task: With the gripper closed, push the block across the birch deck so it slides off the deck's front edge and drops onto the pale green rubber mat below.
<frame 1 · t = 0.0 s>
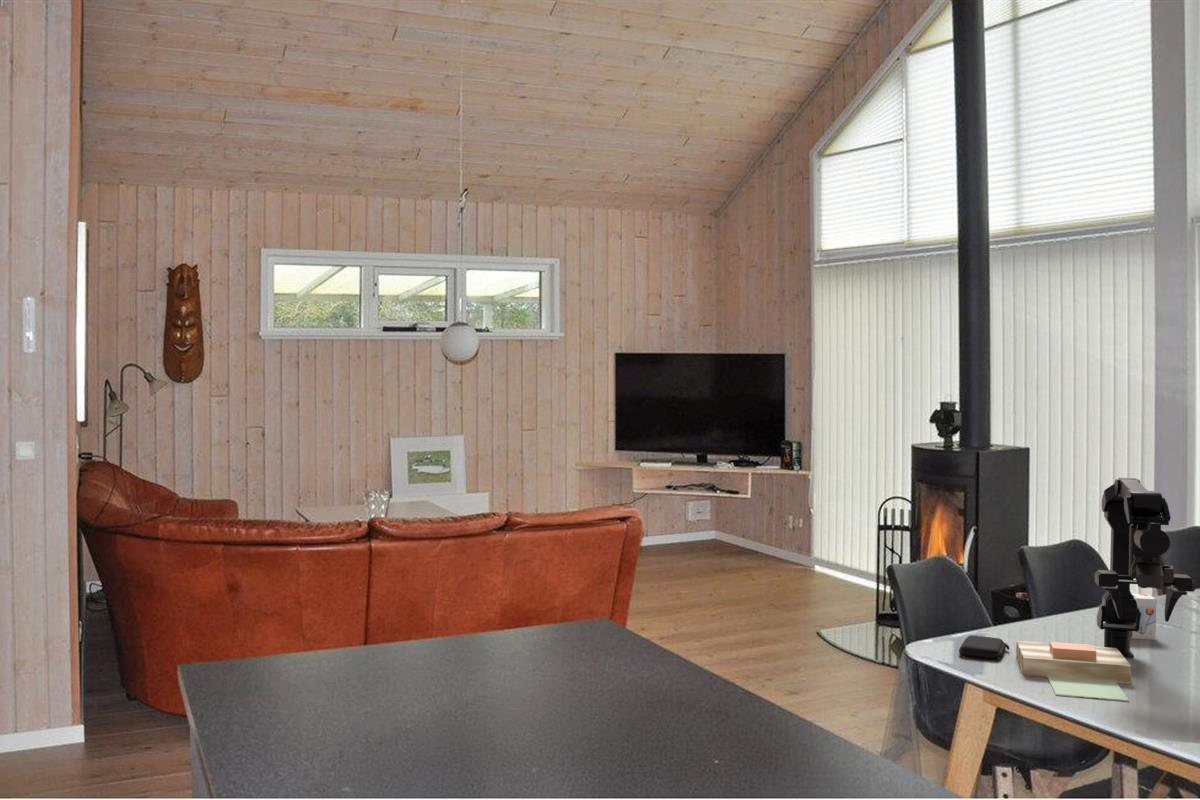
hand: (1143, 619, 223), 15 cm above the table, fingers open, 9 cm apart
light bulb box: (1130, 636, 269), on the table
carrying case or bag: (984, 655, 251), on the table
mat: (1086, 688, 222), on the table
deck: (1070, 670, 236), on the table
block: (1072, 655, 234), point 4 cm above the table, touching deck
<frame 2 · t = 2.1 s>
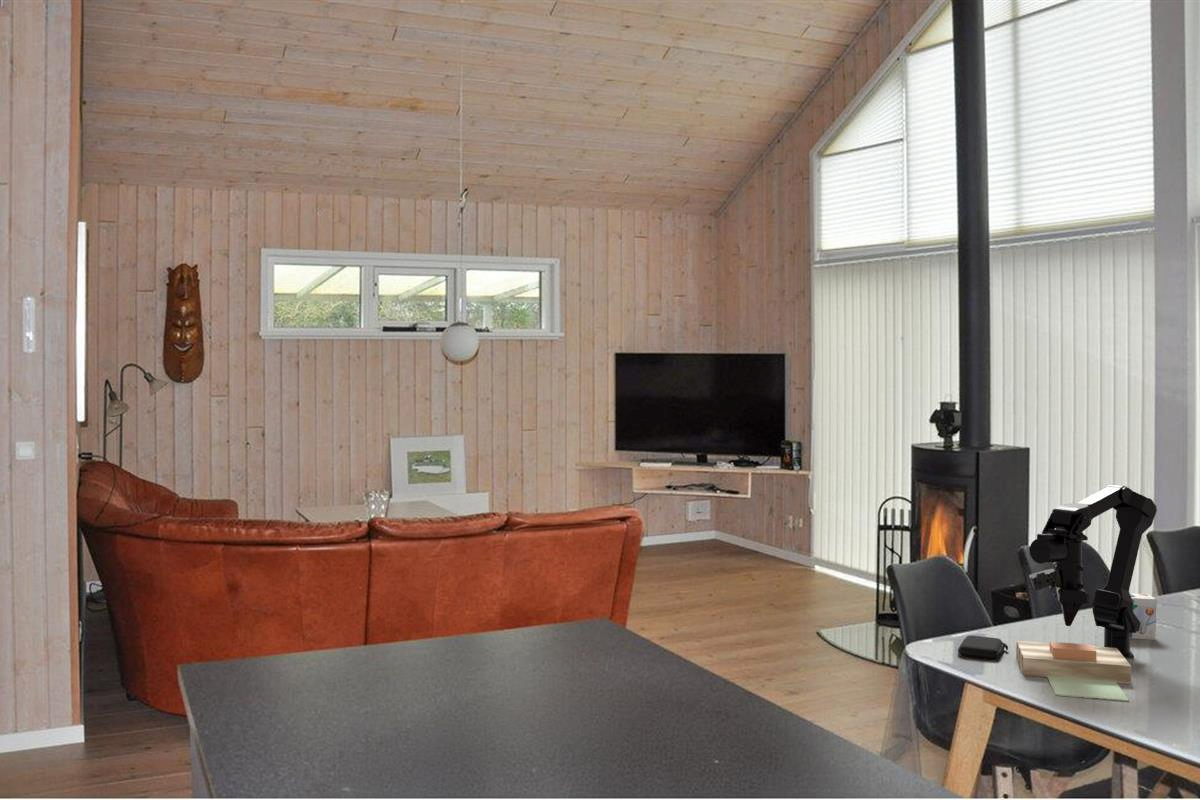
hand: (1067, 625, 242), 9 cm above the table, fingers closed
nothing on the table moved.
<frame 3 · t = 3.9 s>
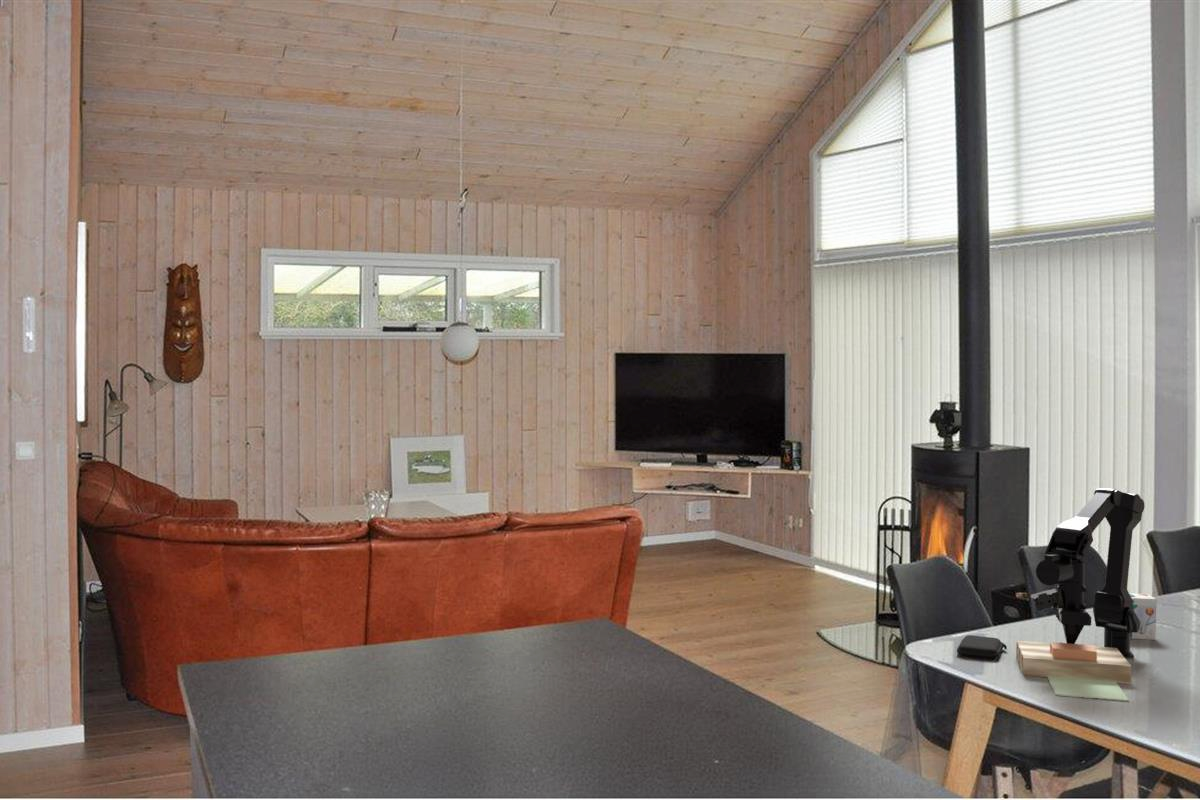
hand: (1069, 647, 238), 5 cm above the table, fingers closed
block: (1072, 655, 234), point 4 cm above the table, touching deck, gripper
everything else where it was.
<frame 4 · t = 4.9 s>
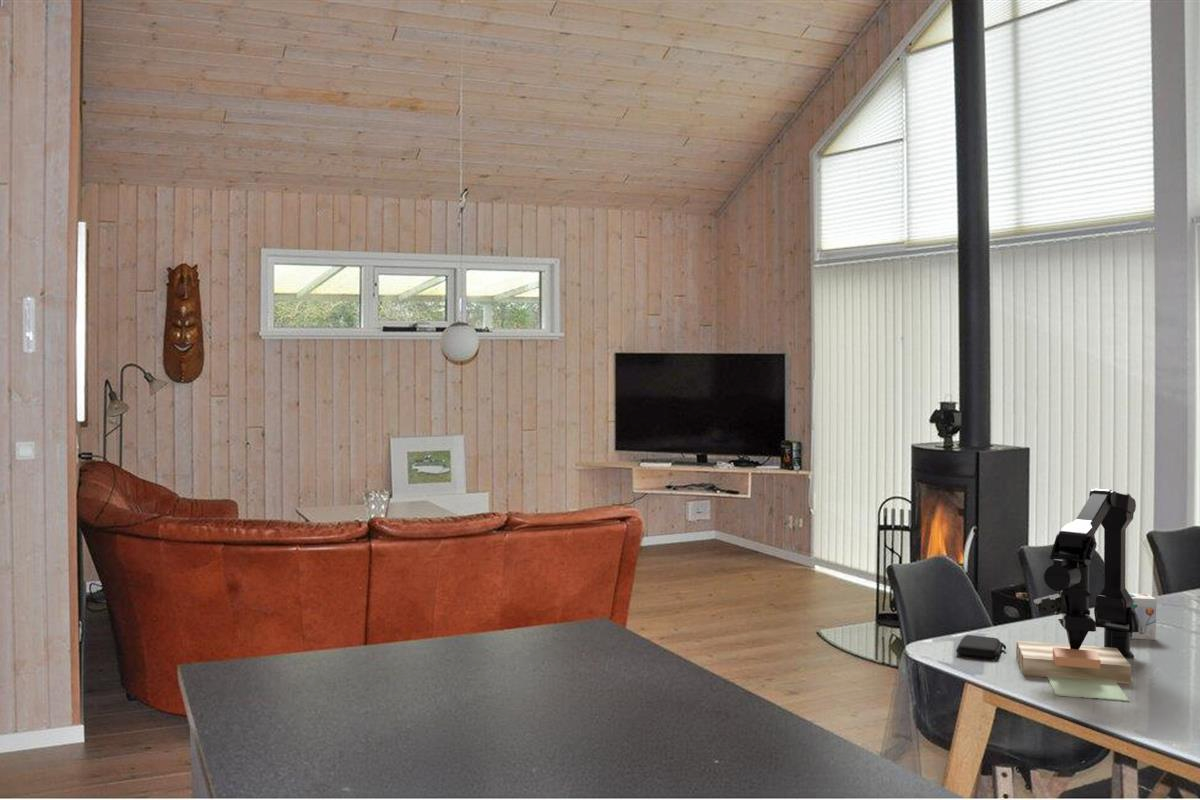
hand: (1073, 653, 232), 5 cm above the table, fingers closed
block: (1076, 662, 228), point 4 cm above the table, tilted 6°, touching gripper
everything else where it was.
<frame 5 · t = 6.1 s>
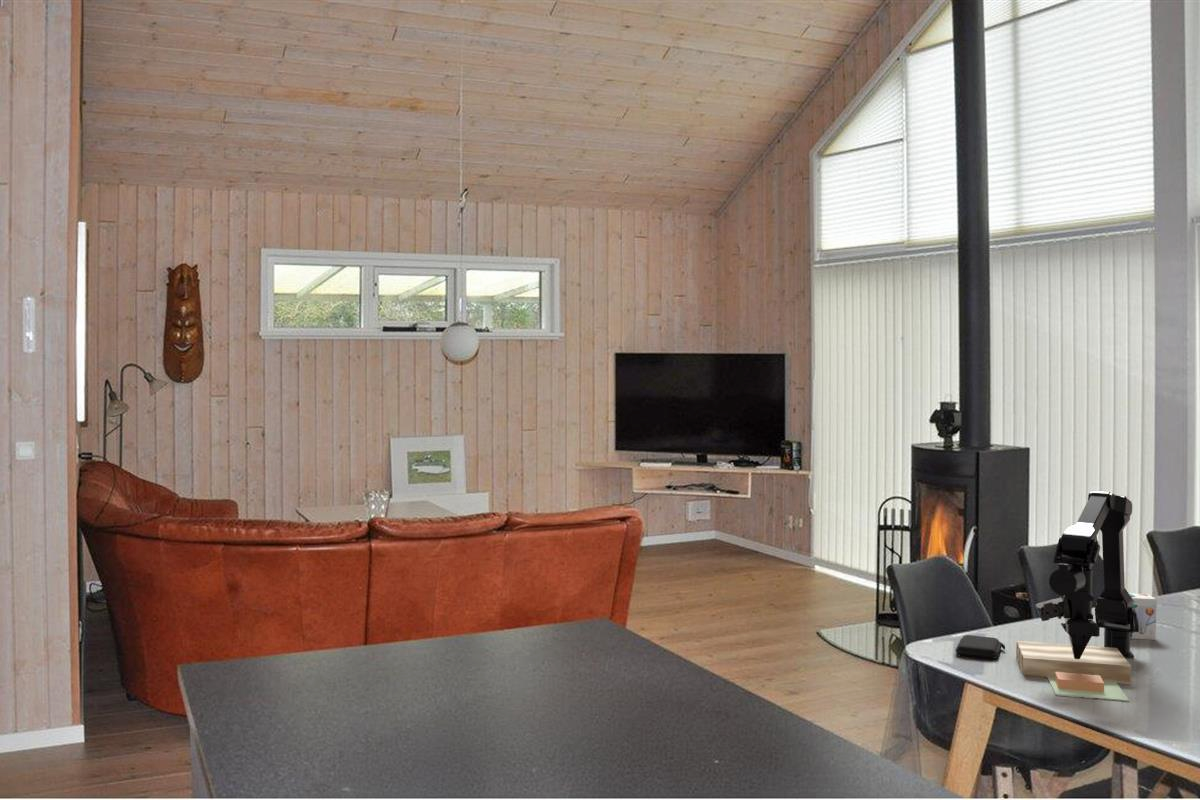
hand: (1076, 658, 228), 5 cm above the table, fingers closed
block: (1079, 677, 223), point 2 cm above the table, tilted 180°, touching mat
everything else where it was.
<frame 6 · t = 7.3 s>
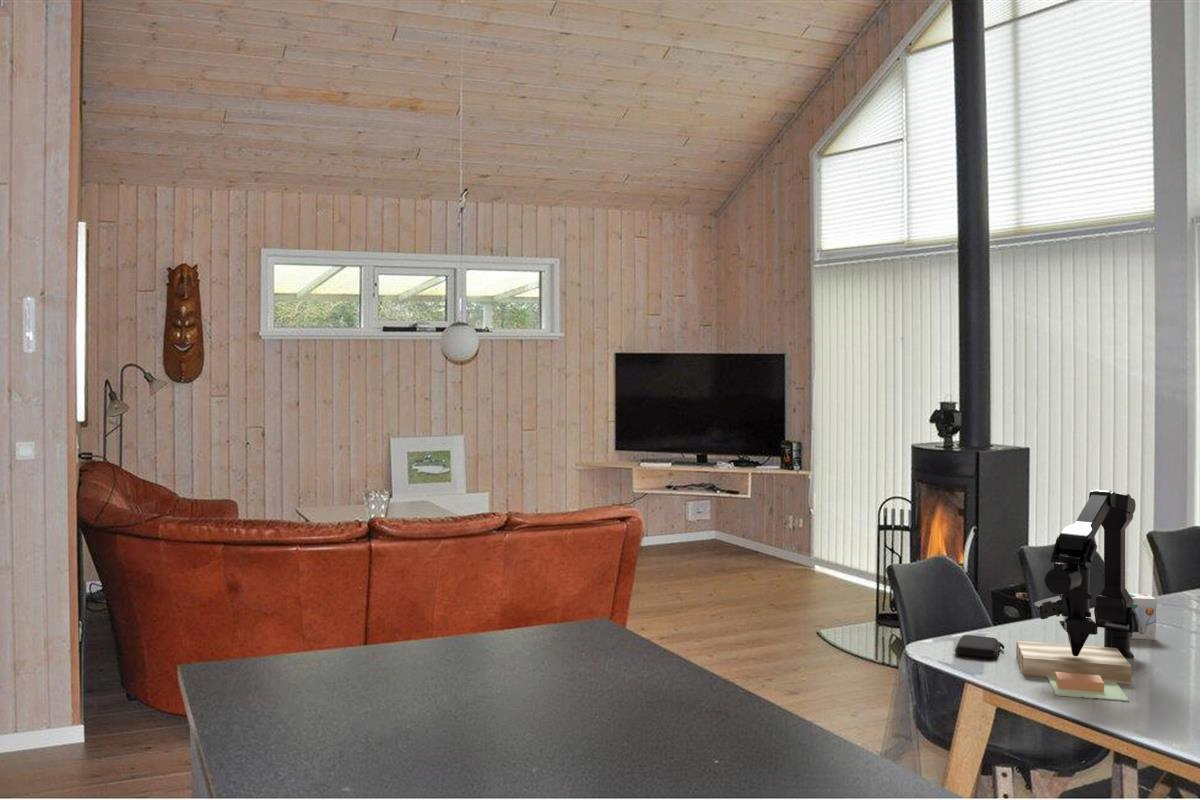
hand: (1075, 655, 232), 4 cm above the table, fingers closed
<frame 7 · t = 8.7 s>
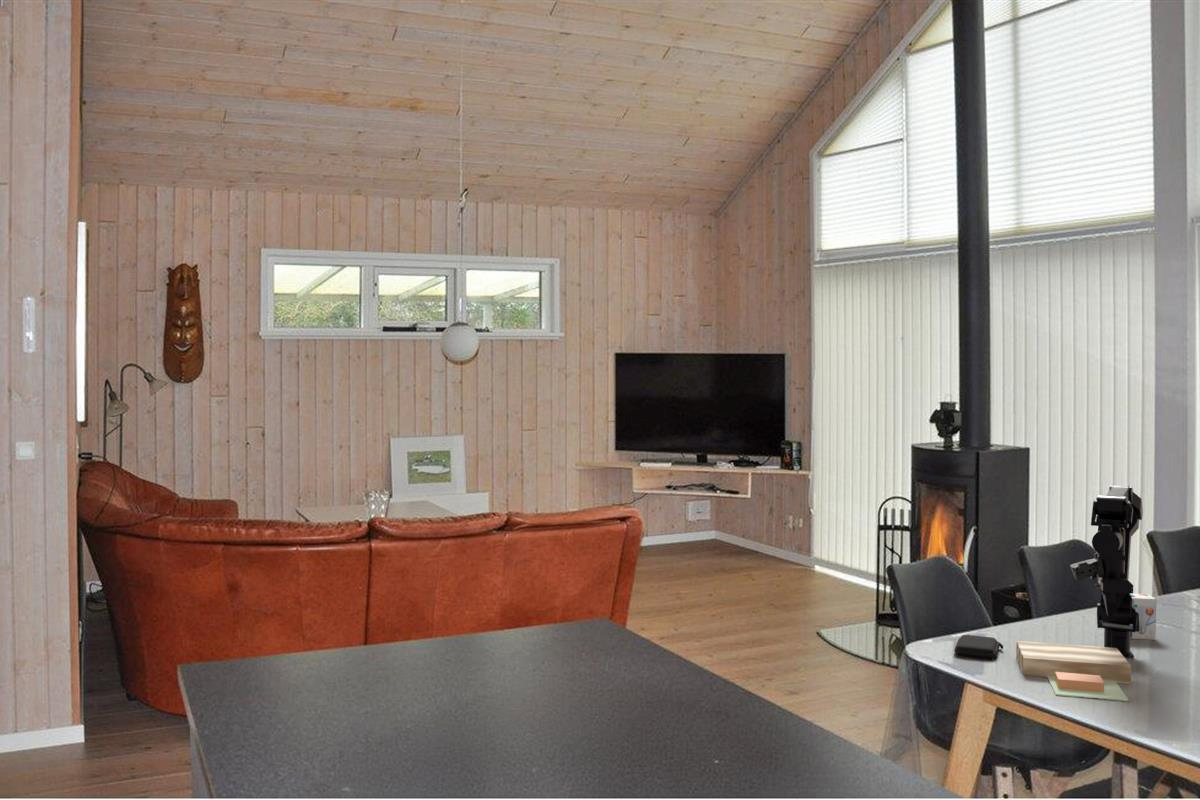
hand: (1110, 616, 238), 12 cm above the table, fingers closed
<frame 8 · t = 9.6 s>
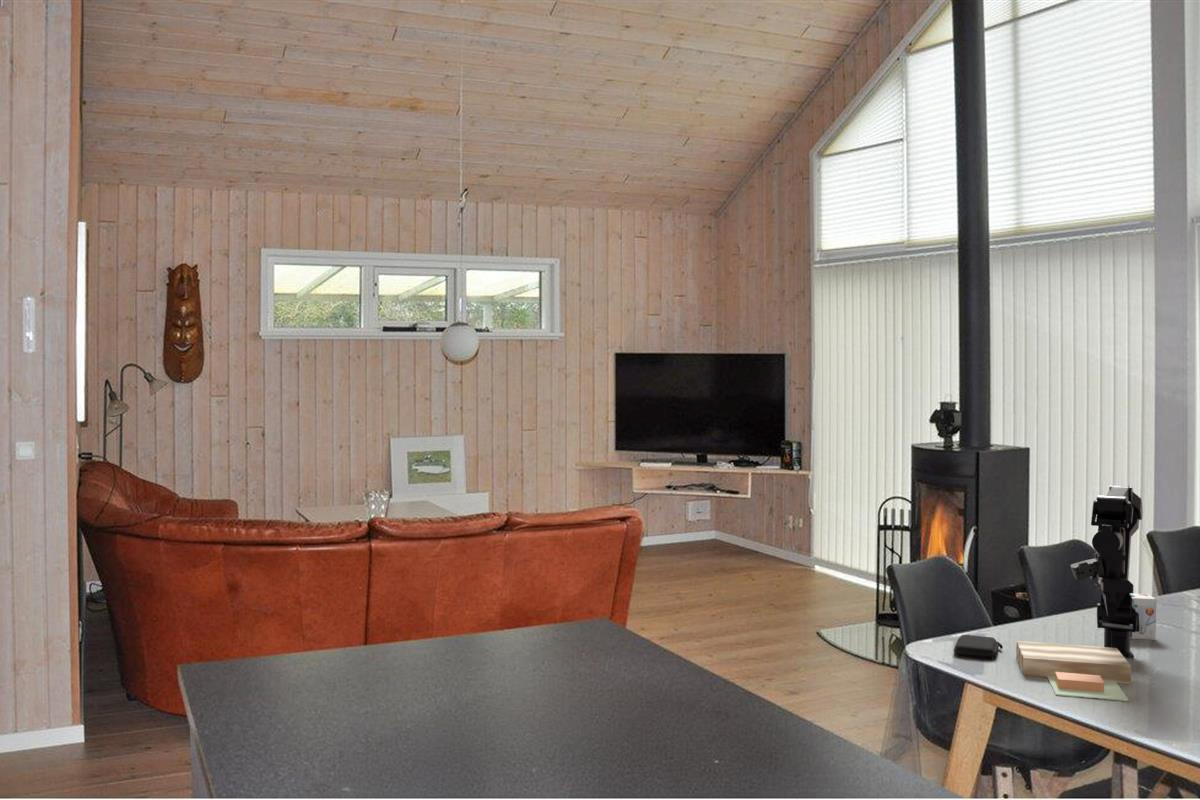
hand: (1110, 616, 238), 12 cm above the table, fingers closed
at the end: block point 2.3 cm above the table; block inside the target area on the mat (1.5 cm from its centre), point 2.3 cm above the mat's base; block touching mat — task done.
